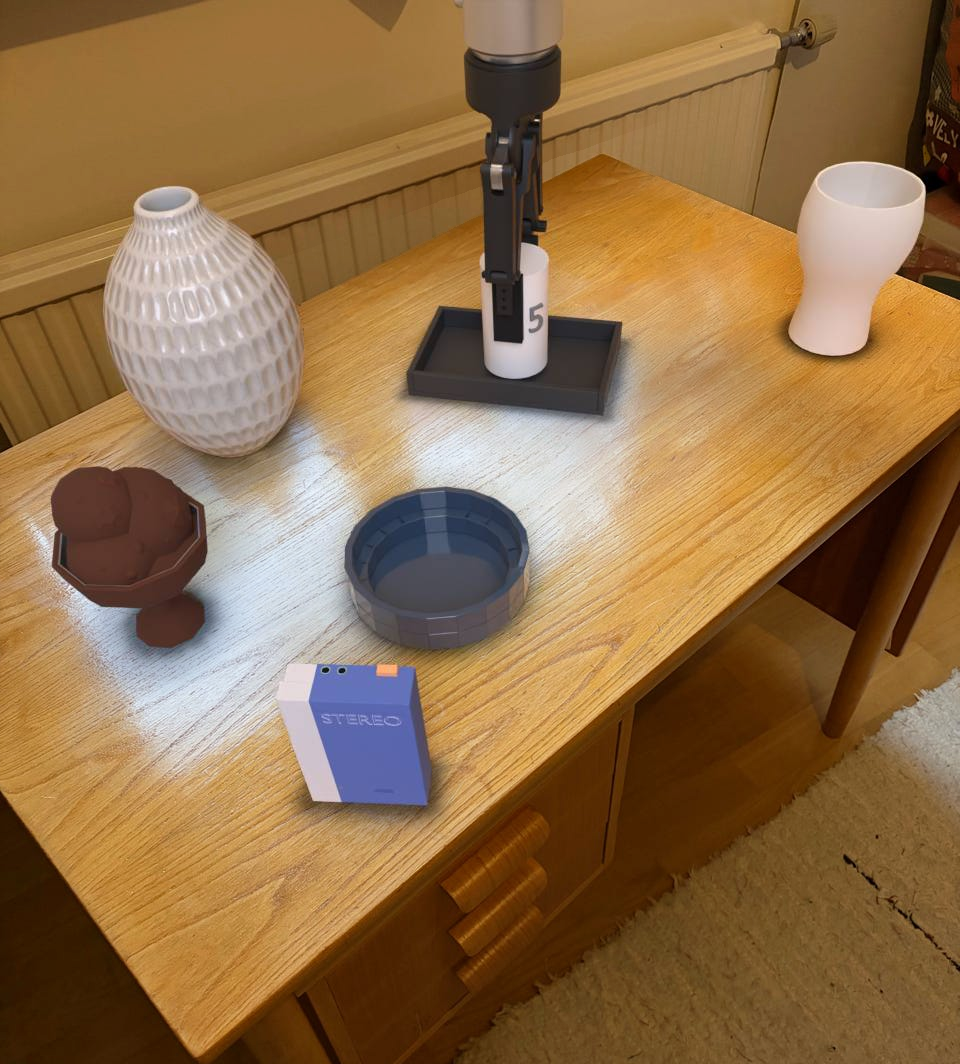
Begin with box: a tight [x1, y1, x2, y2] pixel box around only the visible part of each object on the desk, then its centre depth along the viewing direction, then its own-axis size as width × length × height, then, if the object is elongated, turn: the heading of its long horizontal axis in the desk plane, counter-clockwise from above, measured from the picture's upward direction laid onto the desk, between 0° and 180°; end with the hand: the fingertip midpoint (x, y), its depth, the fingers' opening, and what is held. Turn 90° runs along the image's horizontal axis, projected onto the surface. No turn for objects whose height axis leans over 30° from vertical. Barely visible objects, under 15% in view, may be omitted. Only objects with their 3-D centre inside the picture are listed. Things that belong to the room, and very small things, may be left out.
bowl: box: [343, 486, 531, 651], centre depth 71 cm, size 14×14×4 cm
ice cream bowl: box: [50, 465, 209, 649], centre depth 66 cm, size 11×11×15 cm
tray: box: [406, 305, 623, 416], centre depth 90 cm, size 19×12×2 cm, turn 77°
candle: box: [479, 243, 550, 379], centre depth 85 cm, size 6×6×15 cm
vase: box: [102, 185, 306, 459], centre depth 78 cm, size 16×16×22 cm
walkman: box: [275, 662, 433, 806], centre depth 57 cm, size 8×3×12 cm, turn 86°
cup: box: [787, 161, 927, 357], centre depth 87 cm, size 11×11×15 cm
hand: (516, 319), depth 87 cm, fingers closed on candle, 6 cm apart
